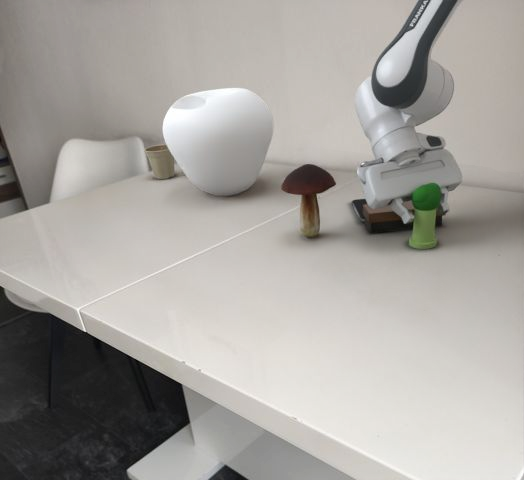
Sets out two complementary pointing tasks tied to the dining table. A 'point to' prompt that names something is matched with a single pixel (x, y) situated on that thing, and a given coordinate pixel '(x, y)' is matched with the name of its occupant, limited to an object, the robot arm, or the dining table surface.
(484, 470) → the dining table surface
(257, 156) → the vase
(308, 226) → the decorative mushroom
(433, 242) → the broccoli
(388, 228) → the brush
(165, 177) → the flower pot
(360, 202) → the smartphone
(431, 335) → the dining table surface
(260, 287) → the dining table surface
